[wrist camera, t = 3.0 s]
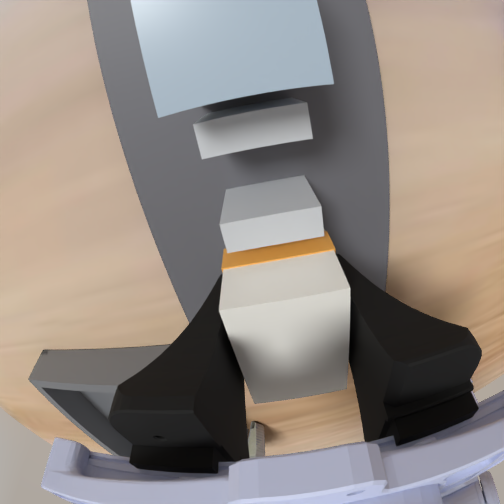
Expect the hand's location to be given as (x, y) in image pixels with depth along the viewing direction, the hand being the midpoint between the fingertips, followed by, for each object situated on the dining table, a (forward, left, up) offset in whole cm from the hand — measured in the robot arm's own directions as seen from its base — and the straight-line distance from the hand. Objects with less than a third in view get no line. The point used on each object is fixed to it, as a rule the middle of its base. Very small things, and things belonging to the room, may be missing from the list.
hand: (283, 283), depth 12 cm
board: (0, -6, -2) cm, 6 cm away
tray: (+12, +13, -2) cm, 18 cm away
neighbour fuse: (0, -10, -1) cm, 10 cm away
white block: (0, 0, -1) cm, 1 cm away
